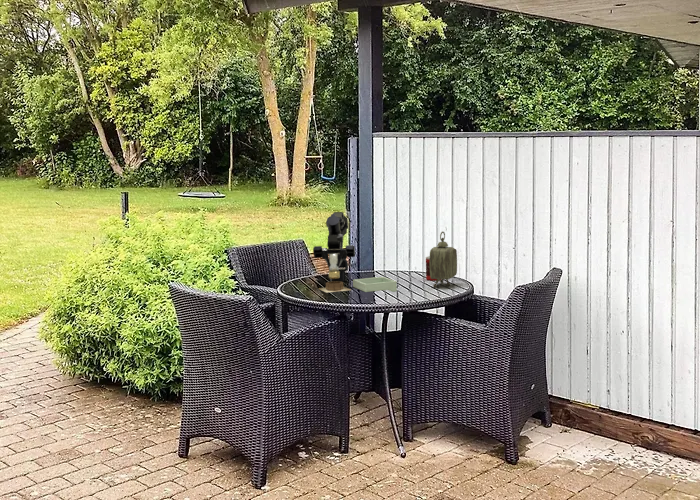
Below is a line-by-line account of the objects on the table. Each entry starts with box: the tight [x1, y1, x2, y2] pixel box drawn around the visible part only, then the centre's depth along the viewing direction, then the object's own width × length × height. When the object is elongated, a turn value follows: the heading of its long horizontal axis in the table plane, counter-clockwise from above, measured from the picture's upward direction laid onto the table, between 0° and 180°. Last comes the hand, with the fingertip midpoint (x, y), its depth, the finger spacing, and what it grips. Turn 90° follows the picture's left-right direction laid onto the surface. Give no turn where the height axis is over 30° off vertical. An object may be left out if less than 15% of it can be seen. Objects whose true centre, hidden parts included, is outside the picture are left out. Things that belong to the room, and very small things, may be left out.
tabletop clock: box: [429, 231, 458, 288], centre depth 354 cm, size 14×9×25 cm, turn 157°
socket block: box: [318, 281, 352, 294], centre depth 350 cm, size 12×12×4 cm
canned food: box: [425, 255, 441, 282], centre depth 373 cm, size 8×8×11 cm
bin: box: [352, 276, 398, 293], centre depth 350 cm, size 15×15×4 cm
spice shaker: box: [328, 253, 340, 280], centre depth 349 cm, size 5×5×11 cm
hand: (333, 266), depth 347 cm, fingers closed on spice shaker, 4 cm apart
